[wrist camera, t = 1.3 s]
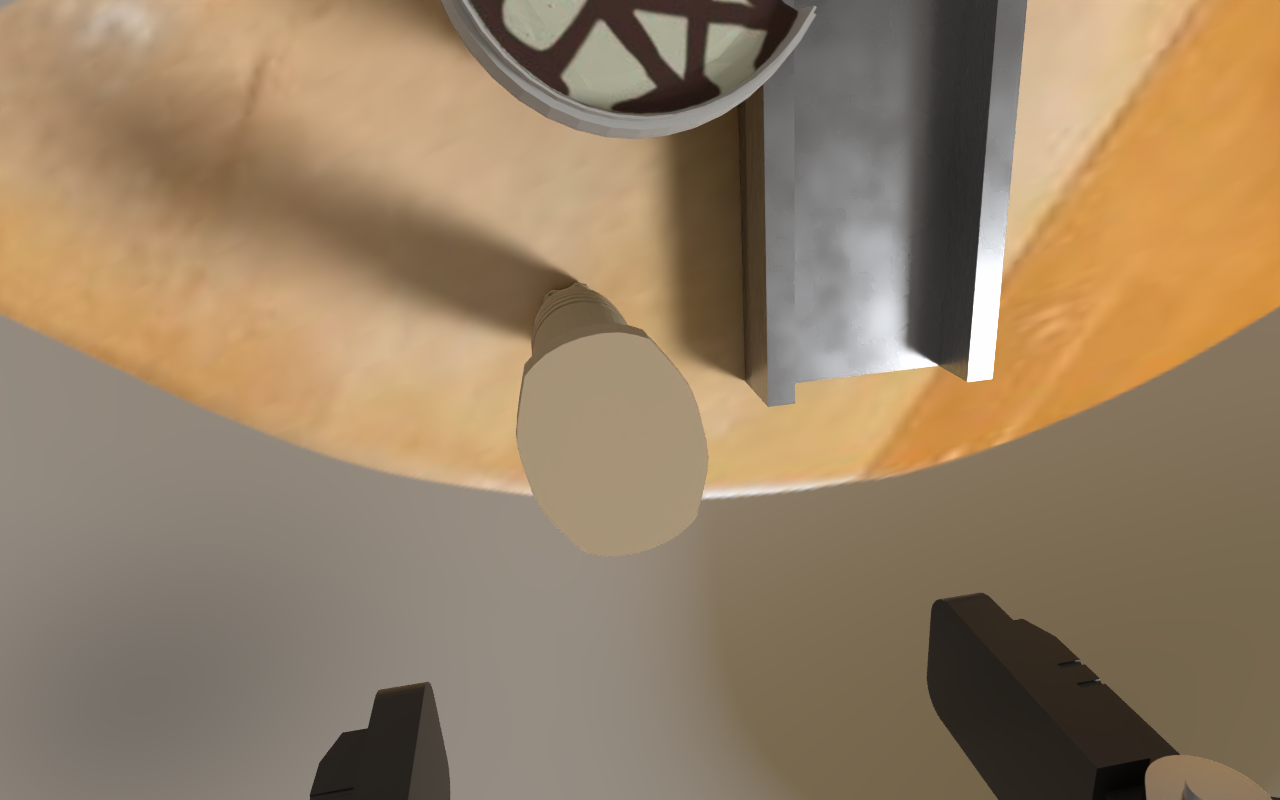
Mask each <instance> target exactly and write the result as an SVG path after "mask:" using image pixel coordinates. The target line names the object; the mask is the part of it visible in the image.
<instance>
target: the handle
mask: <svg viewBox="0 0 1280 800" xmlns="http://www.w3.org/2000/svg"><path fill="white" fill-rule="evenodd" d="M543 301H544V303H543V304H542V306H541V308H540V309H539V311H538V313H537V315H536V318H535V321H534V325H533V331H532V357H531V358H530V359H529V360H528V361H527V362H526V364H525V366H524V372H523V377H522V383H521V390H520V396H519V404H518V413H517V429H516V436H517V445H518V450H519V454H520V458H521V462H522V465H523V467H524V470H525V473H526V476H527V479H528V482H529V484H530V487H531V490H532V493H533V495H534V497H535V499H536V501H537V503H538V505H539V507H540V509H541V510H542V512H543V513H544V514H545V515H546V517H547V518H548V519H549V520H550V521H551V522H552V523H553V524H554V525H555V526H556V527H557V528H558V529H559V530H560V531H561V532H562V533H563V534H564V535H565V536H567V538H568V539H570V540H571V541H572V542H573V543H574V544H575V545H576V546H577V547H578V548H580V549H581V550H582V551H583V552H584V553H589V554H593V555H599V556H609V557H612V556H623V555H630V554H634V553H638V552H643V551H646V550H649V549H651V548H654V547H656V546H659V545H662V544H663V543H665V542H667V541H669V540H671V539H672V538H674V537H676V536H677V535H679V534H680V533H681V532H682V531H683V530H684V529H686V528H687V527H688V526H689V525H690V524H691V523H692V522H693V520H694V519H695V518H696V517H697V513H698V509H699V505H700V501H701V497H702V493H703V489H704V484H705V480H706V475H707V467H708V449H707V442H706V437H705V433H704V429H703V425H702V421H701V417H700V413H699V409H698V406H697V403H696V400H695V398H694V395H693V392H692V390H691V388H690V386H689V385H688V383H687V381H686V380H685V378H684V377H683V376H682V374H681V373H680V372H679V370H678V369H677V368H676V367H675V365H674V364H673V363H672V362H671V361H670V359H669V358H668V357H667V356H666V355H665V354H664V352H663V351H662V350H661V349H660V348H659V347H658V346H657V345H656V343H655V342H654V341H653V340H652V339H651V338H650V337H649V336H648V335H647V334H646V333H645V332H644V331H643V330H642V329H639V328H636V327H632V326H629V325H627V323H626V321H625V320H624V318H623V316H622V315H621V314H620V312H619V311H618V310H617V309H616V307H615V306H614V305H613V304H612V303H611V302H610V301H609V300H607V299H606V298H605V297H604V296H602V295H601V294H599V293H597V292H595V291H593V290H590V289H589V287H588V286H587V285H586V284H583V283H574V284H573V285H572V286H570V287H568V288H566V289H562V290H554V289H552V290H550V291H549V292H548V293H547V294H546V295H545V296H544V300H543Z"/></svg>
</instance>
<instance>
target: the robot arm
mask: <svg viewBox="0 0 1280 800" xmlns="http://www.w3.org/2000/svg"><path fill="white" fill-rule="evenodd" d="M927 684H928V690H929V694H930V698H931V701H932V704H933V706H934V708H935V711H936V712H937V714H938V716H939V717H940V719H941V721H942V722H943V723H944V725H945V726H946V727H947V729H948V730H949V732H950V733H951V734H952V736H953V737H954V739H955V740H956V741H957V743H958V744H959V745H960V747H961V748H962V749H963V751H964V752H965V754H966V755H967V757H968V758H969V760H970V761H971V762H972V764H973V765H974V766H975V768H976V769H977V771H978V772H979V773H980V775H981V776H982V778H983V779H984V780H985V782H986V783H987V784H988V786H989V787H990V789H991V790H992V792H993V793H994V794H995V796H996V797H997V799H998V800H1280V798H1276V797H1270V796H1269V795H1268V794H1267V793H1266V792H1265V791H1264V790H1263V789H1262V788H1261V787H1260V786H1258V785H1257V784H1256V783H1254V782H1253V781H1252V780H1250V779H1249V778H1247V777H1246V776H1244V775H1242V774H1240V773H1239V772H1237V771H1235V770H1233V769H1231V768H1229V767H1227V766H1225V765H1222V764H1220V763H1218V762H1215V761H1211V760H1208V759H1205V758H1200V757H1195V756H1187V755H1180V754H1179V753H1178V752H1177V751H1176V750H1175V749H1174V748H1173V747H1171V745H1169V744H1168V743H1167V742H1166V741H1165V740H1164V739H1163V738H1162V737H1161V736H1160V735H1159V734H1158V733H1157V732H1156V731H1155V730H1154V729H1153V728H1152V727H1150V726H1149V725H1148V724H1147V723H1146V722H1145V721H1144V720H1143V719H1142V718H1141V717H1140V716H1139V715H1138V714H1137V713H1136V712H1135V711H1134V710H1132V709H1131V708H1130V707H1129V706H1128V705H1127V704H1126V703H1125V702H1124V701H1123V700H1122V699H1121V698H1120V697H1119V696H1118V695H1117V694H1116V693H1114V692H1113V691H1112V690H1111V689H1110V688H1109V687H1108V686H1107V685H1106V684H1102V683H1101V681H1100V678H1099V677H1098V676H1096V674H1094V673H1093V672H1092V671H1091V670H1090V669H1089V668H1088V667H1087V666H1086V665H1082V664H1081V663H1080V659H1079V658H1078V657H1077V656H1076V655H1074V654H1073V653H1072V652H1071V651H1070V650H1069V649H1068V648H1067V647H1066V646H1065V645H1064V644H1063V643H1061V641H1060V640H1059V639H1057V638H1056V637H1055V636H1053V635H1052V634H1050V633H1048V632H1045V631H1044V630H1042V629H1041V628H1039V627H1037V626H1035V625H1033V624H1031V623H1029V622H1028V621H1026V620H1024V619H1019V620H1012V619H1011V618H1010V617H1009V616H1008V615H1007V614H1006V613H1005V612H1004V611H1003V610H1002V609H1001V608H1000V607H999V606H998V605H997V604H996V603H995V602H994V601H993V600H992V599H991V598H990V597H989V596H988V595H986V594H984V593H975V594H969V595H963V596H957V597H951V598H944V599H938V600H936V601H935V602H934V604H933V606H932V610H931V622H930V638H929V652H928V667H927ZM310 800H450V777H449V767H448V761H447V755H446V751H445V746H444V741H443V736H442V732H441V727H440V722H439V717H438V712H437V707H436V703H435V698H434V694H433V689H432V687H431V684H430V683H429V682H425V683H418V684H412V685H406V686H400V687H394V688H388V689H382V690H379V691H378V692H377V694H376V697H375V700H374V705H373V709H372V713H371V718H370V722H369V726H368V728H367V729H362V730H356V731H350V732H345V733H342V734H341V735H340V737H339V738H338V739H337V741H336V742H335V743H334V745H333V746H332V747H331V748H330V750H329V751H328V752H327V754H326V755H325V756H324V758H323V759H322V760H321V761H320V763H319V766H318V769H317V773H316V776H315V779H314V783H313V786H312V789H311V793H310Z"/></svg>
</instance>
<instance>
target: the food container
mask: <svg viewBox="0 0 1280 800" xmlns="http://www.w3.org/2000/svg"><path fill="white" fill-rule="evenodd" d="M441 2H442V5H443V7H444V9H445V11H446V13H447V15H448V18H449V20H450V21H451V23H452V25H453V26H454V28H455V29H456V31H457V32H458V34H459V35H460V37H461V39H462V40H463V42H464V43H465V45H466V46H467V48H468V50H469V51H470V52H471V53H472V55H473V56H474V57H475V58H476V59H477V60H478V62H479V63H480V64H481V65H482V66H483V67H484V68H485V70H486V71H487V72H488V73H489V74H490V75H491V77H492V78H493V79H494V80H496V81H497V82H498V83H499V84H500V85H501V86H503V87H504V88H505V89H506V90H507V91H508V92H510V93H511V94H512V95H513V96H514V97H515V98H517V99H518V100H519V101H521V102H522V103H524V104H526V105H527V106H529V107H530V108H532V109H534V110H535V111H537V112H538V113H540V114H542V115H543V116H545V117H546V118H549V119H551V120H554V121H556V122H558V123H561V124H563V125H566V126H568V127H570V128H573V129H575V130H579V131H583V132H587V133H591V134H596V135H600V136H604V137H614V138H629V139H641V138H650V137H660V136H667V135H671V134H675V133H678V132H682V131H686V130H689V129H693V128H696V127H698V126H700V125H702V124H704V123H707V122H709V121H711V120H713V119H715V118H717V117H720V116H722V115H723V114H725V113H726V112H728V111H729V110H731V109H732V108H734V107H735V106H737V105H738V104H740V103H741V102H743V101H744V100H746V99H747V98H748V97H749V96H751V95H752V94H753V93H754V92H755V91H756V90H757V89H758V88H759V87H760V86H761V85H762V84H764V83H765V82H766V81H767V80H768V79H769V78H770V77H771V76H772V75H773V74H774V73H775V72H776V70H777V69H778V68H779V67H780V66H781V64H782V63H783V62H784V61H785V60H786V58H787V57H788V56H789V55H790V53H791V52H792V51H793V50H794V48H795V47H796V46H797V45H798V44H799V42H800V41H801V39H802V37H803V36H804V34H805V32H806V31H807V29H808V27H809V26H810V24H811V22H812V21H813V19H814V17H815V16H816V14H815V13H814V11H815V10H816V8H817V7H816V6H810V7H804V8H798V9H794V8H792V7H790V6H789V5H787V4H786V3H784V2H783V1H782V0H441Z"/></svg>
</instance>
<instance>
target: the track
mask: <svg viewBox="0 0 1280 800" xmlns="http://www.w3.org/2000/svg"><path fill="white" fill-rule="evenodd" d="M782 1H783V2H784V3H786V4H787V5H789V6H790V7H792V8H794V9H798V8H804V7H810V6H816V7H817V8H816V10H815V11H814V13H815V14H816V16H815V17H814V19H813V21H812V22H811V24H810V26H809V27H808V29H807V31H806V32H805V34H804V36H803V37H802V39H801V41H800V42H799V44H798V45H797V46H796V47H795V48H794V50H793V51H792V52H791V53H790V55H789V56H788V57H787V58H786V60H785V61H784V62H783V63H782V64H781V66H780V67H779V68H778V69H777V70H776V72H775V73H774V74H773V75H772V76H771V77H770V78H769V79H768V80H767V81H766V82H765V83H764V84H762V85H761V86H760V87H759V88H758V89H757V90H756V91H755V92H754V93H753V94H752V95H751V96H749V97H748V98H747V99H746V100H744V101H743V102H741V103H740V104H738V107H739V147H740V187H741V226H742V266H743V306H744V346H745V382H746V383H747V384H748V385H749V386H750V387H751V388H752V389H753V390H754V392H755V393H756V394H757V395H758V396H759V397H760V398H761V399H762V401H763V402H764V403H765V404H766V405H767V406H768V407H770V406H778V405H786V404H794V403H795V383H799V382H807V381H815V380H823V379H831V378H840V377H848V376H856V375H864V374H873V373H881V372H889V371H897V370H905V369H914V368H922V367H930V366H938V365H939V366H940V367H942V368H944V369H946V370H947V371H949V372H951V373H953V374H954V375H956V376H958V377H960V378H961V379H963V380H965V381H967V382H970V381H978V380H986V379H992V377H993V366H994V356H995V345H996V334H997V323H998V312H999V301H1000V291H1001V280H1002V269H1003V258H1004V247H1005V236H1006V226H1007V215H1008V204H1009V193H1010V182H1011V171H1012V160H1013V150H1014V139H1015V128H1016V117H1017V106H1018V95H1019V85H1020V74H1021V63H1022V52H1023V41H1024V30H1025V19H1026V9H1027V0H782Z"/></svg>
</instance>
